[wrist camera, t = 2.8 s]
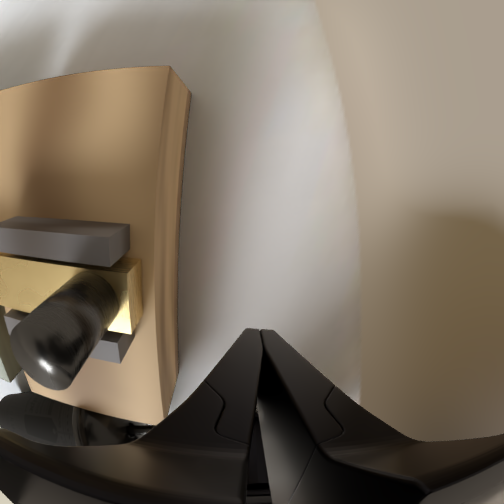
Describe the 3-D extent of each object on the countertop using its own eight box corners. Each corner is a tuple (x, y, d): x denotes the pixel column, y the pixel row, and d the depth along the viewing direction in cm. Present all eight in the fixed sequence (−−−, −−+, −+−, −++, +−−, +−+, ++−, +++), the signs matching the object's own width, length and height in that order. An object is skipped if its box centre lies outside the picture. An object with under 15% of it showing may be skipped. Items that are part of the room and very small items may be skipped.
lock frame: (191, 93, 14) (155, 48, 7) (178, 372, 19) (158, 454, 12) (-44, 123, 13) (-106, 127, 6) (-26, 321, 18) (-71, 360, 11)
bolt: (141, 258, 11) (75, 332, 6) (143, 313, 12) (93, 404, 7) (-25, 239, 11) (-96, 275, 5) (-18, 282, 11) (-82, 327, 6)
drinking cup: (26, 471, 16) (220, 507, 13) (-29, 414, 13) (151, 442, 10) (56, 419, 23) (232, 417, 20) (12, 364, 20) (187, 339, 17)
